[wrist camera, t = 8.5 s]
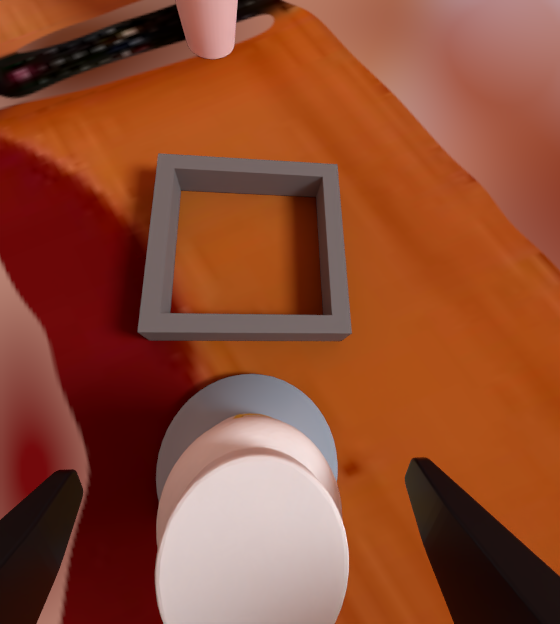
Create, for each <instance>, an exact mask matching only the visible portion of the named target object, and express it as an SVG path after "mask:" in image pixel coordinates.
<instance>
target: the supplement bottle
mask: <svg viewBox="0 0 560 624" xmlns="http://www.w3.org/2000/svg"><path fill="white" fill-rule="evenodd" d="M156 535H157V546H158V551H157V557H156V565H155V589H156V597H157V604H158V608H159V612H160V616H161V619H162V621H163V624H335V622H336V619H337V617H338V615H339V612H340V610H341V607H342V604H343V600H344V597H345V593H346V588H347V581H348V574H349V553H348V544H347V538H346V532H345V529H344V525H343V522H342V506H341V499H340V493H339V490H338V486H337V483H336V480H335V477H334V475H333V472H332V470H331V468H330V466H329V464H328V463H327V461H326V459H325V458H324V456H323V454H322V453H321V452H320V450H319V449H318V448H317V447H316V445H315V444H314V443H313V442H312V441H311V440H310V439H309V438H308V437H307V436H305V435H304V434H303V433H302V432H300V431H299V430H298V429H296V428H295V427H293V426H291V425H289V424H287V423H284V422H282V421H280V420H277V419H275V418H272V417H269V416H266V415H263V414H257V413H244V414H238V415H235V416H232V417H230V418H227V419H225V420H224V421H222V422H220V423H219V424H217V425H215V426H214V427H212V428H211V429H209V430H208V431H206V432H205V433H203V434H202V435H201V436H200V437H198V438H197V439H196V440H195V441H194V442H193V443H192V444H191V445H190V446H189V447H188V448H187V449H186V450H185V451H184V453H183V454H182V455H181V456H180V458H179V459H178V461H177V462H176V463H175V465H174V467H173V469H172V470H171V472H170V474H169V476H168V478H167V480H166V483H165V485H164V488H163V491H162V494H161V498H160V501H159V506H158V513H157V521H156Z"/></svg>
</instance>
